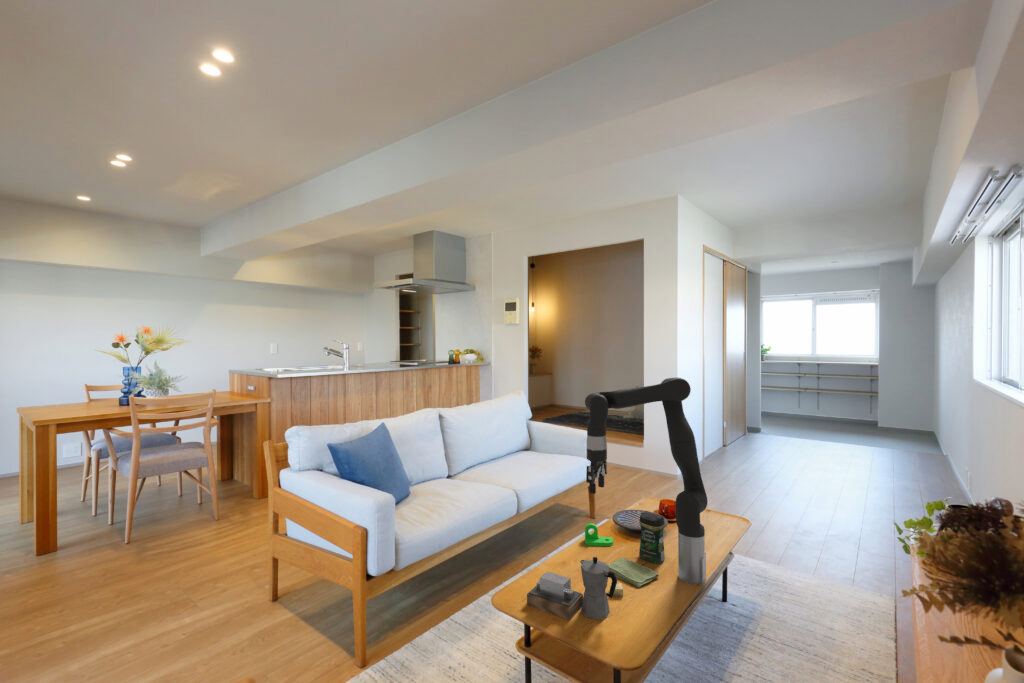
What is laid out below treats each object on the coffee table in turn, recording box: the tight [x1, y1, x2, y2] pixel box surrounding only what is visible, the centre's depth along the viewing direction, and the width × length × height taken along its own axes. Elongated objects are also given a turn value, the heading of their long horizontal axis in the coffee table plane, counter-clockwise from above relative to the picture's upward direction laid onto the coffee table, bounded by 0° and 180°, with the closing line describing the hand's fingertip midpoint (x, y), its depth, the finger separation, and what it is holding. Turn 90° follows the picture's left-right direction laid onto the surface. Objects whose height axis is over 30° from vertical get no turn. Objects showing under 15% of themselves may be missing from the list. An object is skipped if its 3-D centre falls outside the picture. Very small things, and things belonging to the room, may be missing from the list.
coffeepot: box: [579, 556, 618, 620], centre depth 153 cm, size 15×9×18 cm, turn 39°
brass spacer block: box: [609, 582, 624, 598], centre depth 165 cm, size 4×4×3 cm
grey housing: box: [536, 570, 575, 600], centre depth 158 cm, size 5×13×5 cm, turn 57°
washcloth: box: [606, 557, 659, 589], centre depth 179 cm, size 13×18×3 cm
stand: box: [526, 584, 584, 621], centre depth 158 cm, size 16×10×4 cm, turn 57°
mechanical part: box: [584, 522, 614, 547], centre depth 206 cm, size 12×6×8 cm, turn 85°
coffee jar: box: [638, 510, 666, 564], centre depth 191 cm, size 10×8×19 cm
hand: (597, 490), depth 176 cm, fingers open, 8 cm apart
